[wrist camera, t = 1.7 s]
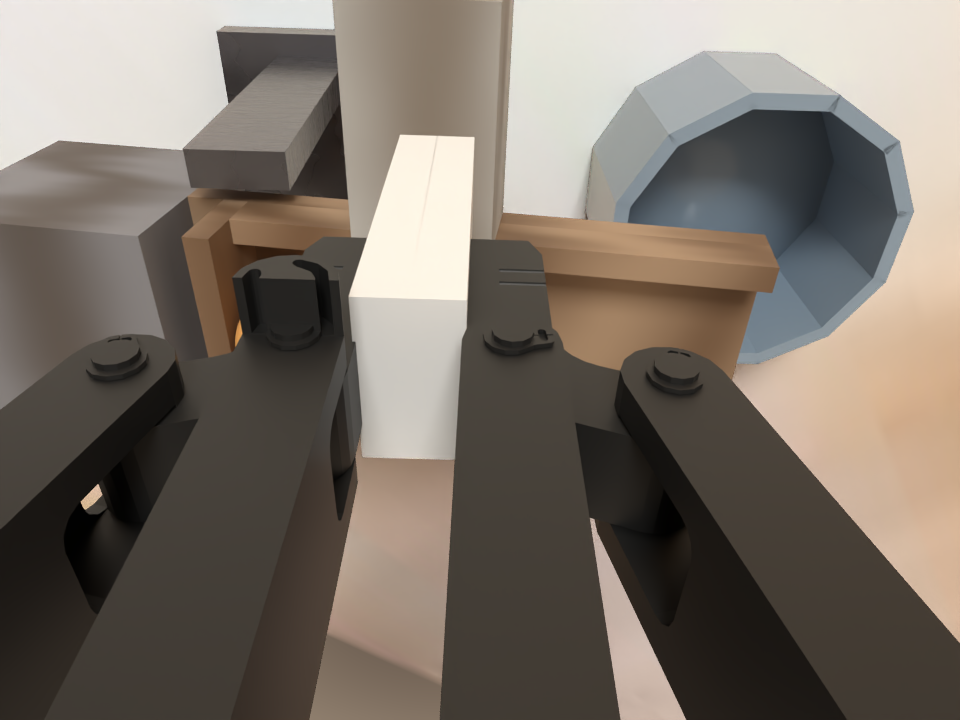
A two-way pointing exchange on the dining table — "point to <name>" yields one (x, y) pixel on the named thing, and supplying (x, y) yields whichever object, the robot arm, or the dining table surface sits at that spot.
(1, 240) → the lever
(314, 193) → the lever stand
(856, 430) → the dining table surface
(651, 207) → the cup
